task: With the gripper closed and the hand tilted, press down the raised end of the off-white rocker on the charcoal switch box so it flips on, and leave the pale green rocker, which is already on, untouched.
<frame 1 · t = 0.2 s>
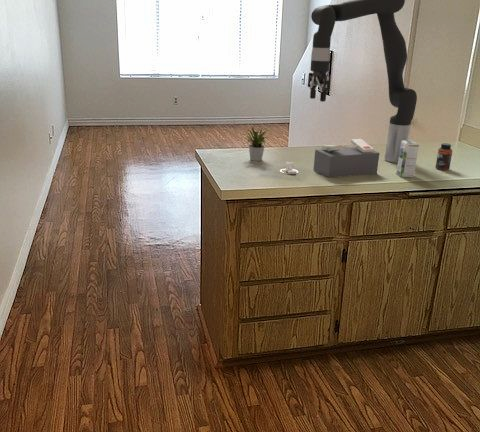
hand: (317, 99, 219), 29 cm above the counter, tool pointing down, fingers open, 8 cm apart
syrup box: (404, 176, 222), on the counter
house plant: (252, 159, 238), on the counter
sage rocker: (333, 148, 218), point 11 cm above the counter, hinge at 12.0°
supplement bottle: (442, 169, 235), on the counter
switch box: (345, 171, 224), on the counter
teacup and saucer: (284, 174, 220), on the counter
white rocker: (361, 146, 223), point 11 cm above the counter, hinge at -12.0°
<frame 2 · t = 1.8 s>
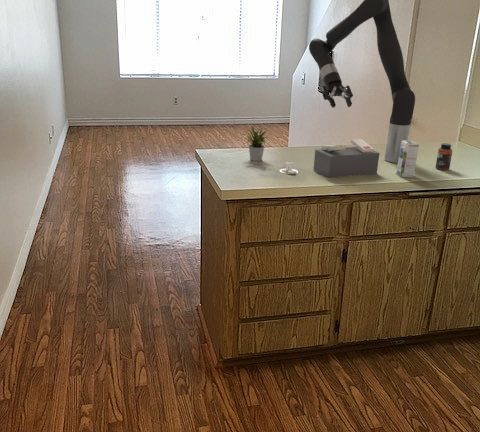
hand: (342, 106, 233), 25 cm above the counter, tool tilted 45°, fingers open, 8 cm apart
nothing on the counter moved.
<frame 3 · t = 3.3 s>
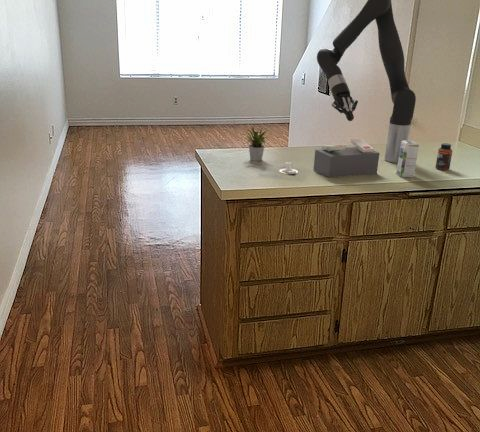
hand: (351, 120, 228), 20 cm above the counter, tool tilted 45°, fingers closed
nothing on the counter moved.
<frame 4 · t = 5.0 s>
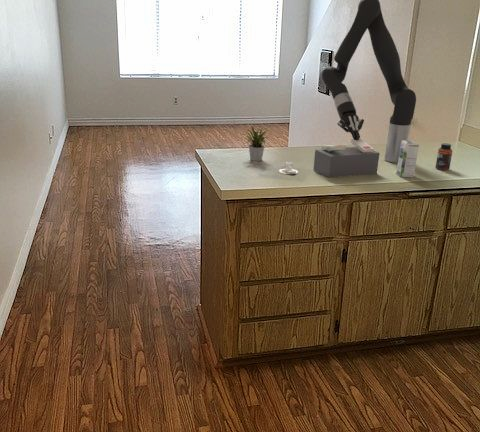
hand: (357, 139, 225), 13 cm above the counter, tool tilted 45°, fingers closed
white rocker: (361, 146, 223), point 11 cm above the counter, hinge at -12.0°, touching gripper
everything else where it was.
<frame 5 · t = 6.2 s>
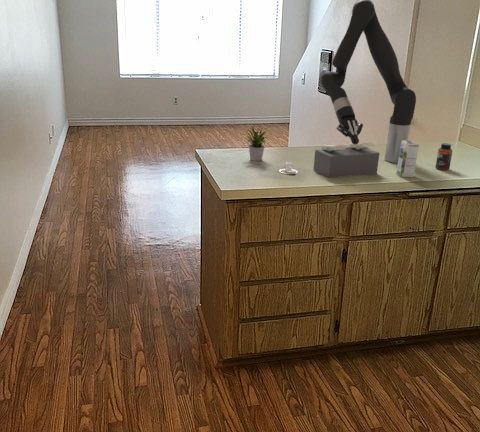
hand: (356, 143, 226), 11 cm above the counter, tool tilted 45°, fingers closed
white rocker: (361, 146, 223), point 11 cm above the counter, hinge at 15.1°, touching gripper
everything else where it was.
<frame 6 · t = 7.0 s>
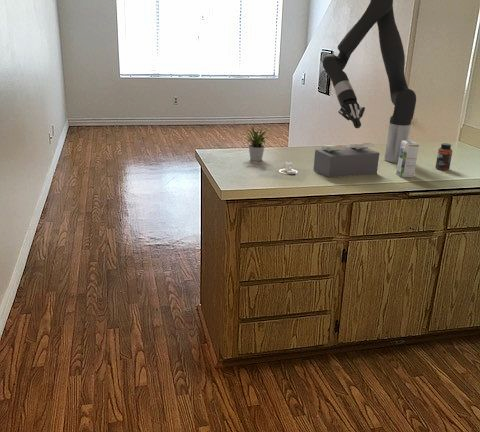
hand: (358, 127, 224), 18 cm above the counter, tool tilted 45°, fingers closed
white rocker: (361, 146, 223), point 11 cm above the counter, hinge at 14.5°
everything else where it was.
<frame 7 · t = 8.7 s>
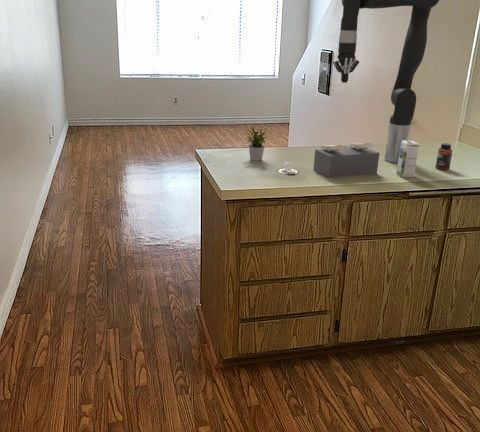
hand: (344, 82, 235), 34 cm above the counter, tool pointing down, fingers closed
white rocker: (361, 146, 223), point 11 cm above the counter, hinge at 13.0°
everything else where it was.
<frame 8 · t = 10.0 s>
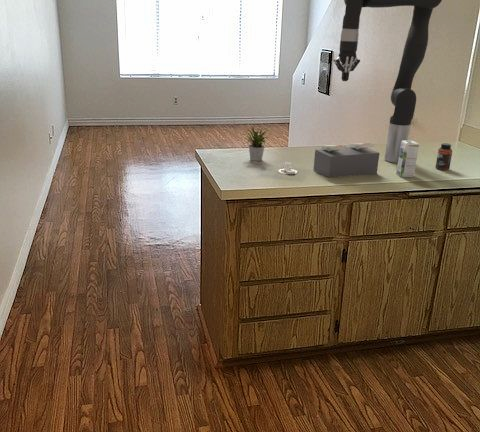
hand: (344, 81, 234), 35 cm above the counter, tool pointing down, fingers closed
nothing on the counter moved.
at the end: white rocker at +13° (first picture: -12°); sage rocker at +12° (first picture: +12°) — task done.
